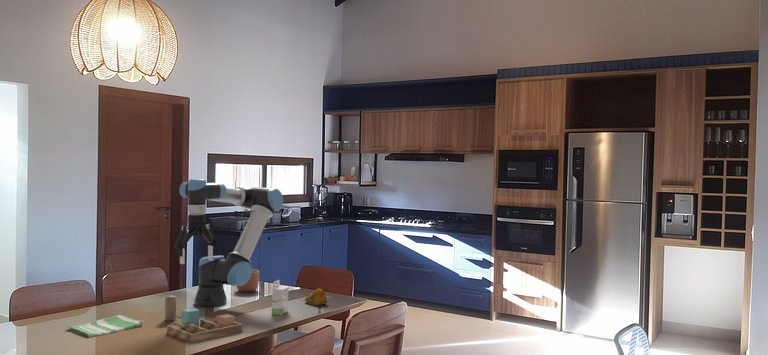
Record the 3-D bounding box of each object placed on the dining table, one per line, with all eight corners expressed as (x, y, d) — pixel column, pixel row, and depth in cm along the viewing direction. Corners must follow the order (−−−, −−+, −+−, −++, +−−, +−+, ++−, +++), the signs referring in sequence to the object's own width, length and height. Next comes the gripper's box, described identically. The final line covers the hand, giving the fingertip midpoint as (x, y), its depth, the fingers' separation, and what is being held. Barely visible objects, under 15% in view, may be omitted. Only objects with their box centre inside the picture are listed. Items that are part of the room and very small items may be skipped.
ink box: (281, 315, 267) (282, 282, 267) (271, 314, 268) (272, 282, 268) (288, 311, 275) (289, 279, 275) (278, 310, 276) (279, 279, 276)
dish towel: (65, 330, 233) (65, 324, 233) (121, 320, 252) (121, 313, 252) (88, 339, 223) (89, 332, 223) (145, 327, 242) (145, 320, 242)
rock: (308, 313, 289) (300, 296, 294) (319, 313, 295) (312, 296, 301) (322, 300, 285) (314, 283, 290) (333, 300, 291) (325, 283, 296)
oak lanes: (166, 333, 232) (167, 325, 232) (217, 323, 250) (217, 316, 249) (191, 342, 220) (191, 334, 220) (242, 331, 238) (242, 324, 238)
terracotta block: (216, 330, 238) (216, 315, 238) (226, 328, 242) (227, 314, 242) (223, 333, 235) (223, 318, 235) (234, 330, 239) (234, 316, 239)
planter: (235, 289, 322) (235, 269, 322) (258, 288, 325) (258, 269, 325) (235, 293, 310) (235, 273, 310) (259, 293, 313) (259, 272, 313)
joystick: (162, 319, 252) (162, 296, 252) (173, 317, 256) (173, 295, 256) (188, 329, 239) (188, 304, 239) (199, 326, 242) (199, 302, 242)
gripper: (174, 216, 246) (174, 266, 247) (226, 213, 265) (226, 259, 265) (165, 215, 251) (165, 264, 252) (217, 211, 270) (217, 257, 270)
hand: (196, 262), depth 259 cm, fingers open, 13 cm apart
